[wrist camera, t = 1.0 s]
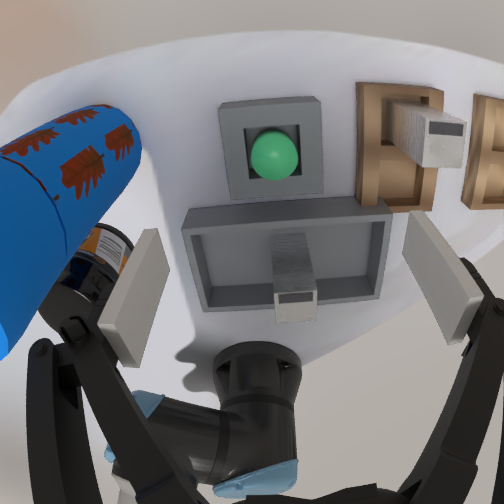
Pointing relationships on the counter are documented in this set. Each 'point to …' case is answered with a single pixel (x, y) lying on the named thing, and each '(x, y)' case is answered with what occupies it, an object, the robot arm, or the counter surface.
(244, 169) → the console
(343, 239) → the tote
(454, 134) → the block
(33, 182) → the thermos
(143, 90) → the counter surface
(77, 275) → the supplement container
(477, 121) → the pallets
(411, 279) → the counter surface
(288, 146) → the button
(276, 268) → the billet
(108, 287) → the robot arm
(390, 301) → the counter surface
